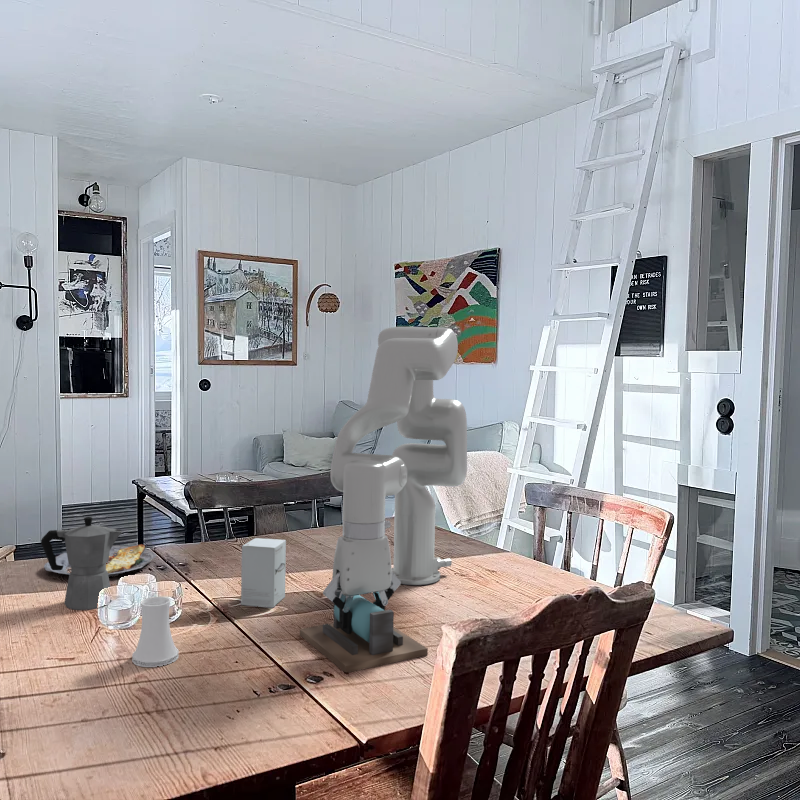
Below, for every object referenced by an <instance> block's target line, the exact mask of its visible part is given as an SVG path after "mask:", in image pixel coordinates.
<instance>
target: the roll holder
mask: <svg viewBox="0 0 800 800" xmlns="http://www.w3.org/2000/svg"><path fill="white" fill-rule="evenodd" d="M340 593H341V590H336V591H335V595H336V596H337V597H338V598H339V596H340ZM334 607H335V604H334V603H333V608H334ZM332 619H333V622H332V623H323V624H320V625H316V626H311V627H309V626H308V627H304V628H300V629H299V637H301V638H302V639H304V641H306V642H307V643H309V644H310V645H311V646H312V647H314V649H316V650H317V651H319V653H321V654H322V655H323V656H324V657H325V658H326V659H328V660H329V661H330V662H331V663H333V664H334V665H335V666H336V667H337V668H338V669H340V668H341V669H342V670H341V669H340V670H341V671H343V672H344V673H345V672H348V673H351V671H353V672H356V670H357V671H360V670H361V669H362V670H366V669H371V668H374V667H379V666H384V665H389V664H393V663H397V662H398V663H399V662H402V661H406V660H412V659H416V658H420V657H425V656H428V650H429V649H428V647H427V646H424V644H421V643H420V642H418V641H416V640H415V639H414V638H412V637H411V636H409V635H407V634H406V633H404V632H403V631H401V630H399V629H397V628H396V627H394V610H392V609H385V610H384V611H379V612H373V613H370V639H369V642H367V641H366V640H364V639H363V638H362V637H360V636H359V635H357V634H356V633H354V632H353V631H352V633H351V634H347V633H345V632H344V631H343V630H341V628H340V626H339V621H338V620H337V619H336V617H335V614H334V613H333V618H332ZM362 670H361V671H362Z"/></svg>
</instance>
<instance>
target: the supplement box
mask: <svg viewBox="0 0 800 800" xmlns="http://www.w3.org/2000/svg"><path fill="white" fill-rule="evenodd" d="M286 544H287V540H286V539H280V538H279V539H276V538H259V537H255V538H253V539H251V540H250V541H248V542H246V543H245V544H243V545H241V571H240V572H241V573H240V574H241V577H240V578H241V583H240V584H241V586H240V587H241V588H240V601H241V602H240V605H241V606H246V607H247V606H248V607H257V606H258V607H260V608H267V609H268V608H270V609H271V608H272V609H273V608H275V607H276V606H277V605H278V603H280V602H281V601H282V600H284V599H285V598H286V567H287V566H286V565H287V564H286V563H287V562H286V559H287V557H286V556H287V555H286V553H287V550H286V548H287V545H286Z"/></svg>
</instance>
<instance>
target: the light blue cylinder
mask: <svg viewBox="0 0 800 800" xmlns="http://www.w3.org/2000/svg"><path fill="white" fill-rule="evenodd" d="M350 611H351V612H352V619H351V625H352V631H353V632H354V633H356V634H357V635H359V636H360V637H362V638H363V639H364V640H366V641H367V642H369V639H370V613H373V612H379V611H384V610H383V609H381V608H380V607H378V606H377V605H375V604H373V601H370V600H368V599H367V598H365V597H364V596H361V595H356V596H354V597H353V600H352V603H351V606H350ZM334 614H335V617H336V619H337V620H338V621H339V608H338V607H337V606H336V605H335V607H334V606H333V615H334Z"/></svg>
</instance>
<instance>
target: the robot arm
mask: <svg viewBox="0 0 800 800" xmlns="http://www.w3.org/2000/svg"><path fill="white" fill-rule="evenodd" d="M377 337H378V338H377V345H378V347H377V349H376V354H375V359H374V364H373V368H372V373H371V380H370V384H369V389H368V395H367V400H366V403H365V404H364V405H362V407H361V408H359V409H358V410H357V411H355V413H353V414H352V415H351V416H350V417H349V419H348V420H347V421H346V423H345V424H344V425H343V426H342V427H341V428H340V431H339V432H338V435H337V437H336V440H335V444H334V450H333V455H332V458H331V462H330V463H331V464H330V473H329V474H330V482H331V484H332V486H333V487H334V488H335V489H336V491H339V492H341V493H342V500H343V501H342V536H339V537H338V538H337V541H336V547H335V550H334V556H333V557H334V558H333V566H332V577H331V578H332V579H331V580H330V581H329V583H328V584H327V586H326V587H325V588H324V589H323V591H322V594H323V596H324V597H326V599H328V600H329V601H331V603H332V604H333V605H334V604H335V605H336V606H337V607H338V608H339V626H340V628H341V630H343V631H344V632H345V633H347V634H351V633H352V625H351V619H352V612H351V611H350V606H351V603H352V600H353V597H354V596H356V595H360V596H361V595H367V594H373V597H374V600H375V601H372V603H373V604H375V605H377V606H378V607H380V608H381V609H383V610H386V606H387V605H388V604H389V600H390V599H391V597H392V596H393V595H394V593H395V591H396V590H398V588H399V587H400V586H401V585H405V586H406V585H408V586H423V585H425V586H426V585H431V584H434V583H436V582H438V581H440V580H441V572H440V571H439V570H440V569H441V568H445V567H451V566H452V559H451V558H450V557H448V558H442V559H441V557H436V556H435V544H436V541H435V539H436V538H435V537H436V503H435V499H434V497H433V495H432V494H431V492H430V491H429V490H428V488H427V487H428V486H434V487H435V486H437V487H451V488H452V487H459V486H461V485H463V483H464V482H465V481H466V477H467V471H468V428H467V427H468V422H467V413H466V409H465V406H464V405H463V403H462V402H461V401H460V400H457V399H454V398H453V399H451V398H436V397H435V396H434V381H439V380H442V379H443V378H445V376H446V375H447V373H448V372H449V371H450V369H451V368H452V367H453V364H454V363H455V361H456V359H457V355H458V350H459V349H458V348H459V347H458V346H459V343H458V338H457V335H456V332H454V330H452V329H451V328H449V327H438V326H437V327H433V326H432V327H429V326H392V327H387V328H384V329H382V330H380V332H379V334H378V336H377ZM394 423H396V425H397V431H398V433H399V434H400V435H401V437H403V438H406V439H412V440H421V441H422V440H424V441H440V442H441V441H442V442H443V443H444V444H432V443H418V442H417V443H415V442H414V443H410V442H409V443H403V444H400V445H398V446H397V447H396V448H395V449H394V450H393V452H392V454H391V455H390V454H377V453H362V452H361V453H359V452H354V450H355V447H356V446H357V444H358V443H359V442H360V441H361V440H362V439H363V438H364V437H365V436H367V435H368V434H370V433H373V432H374V431H377V430H380V429H381V428H384V427H387V426H389V425H391V424H394ZM426 486H427V487H426ZM390 496H394V517H393V519H394V520H393V521H394V524H393V526H394V528H393V530H394V531H393V567H392V556H391V548H390V544H389V543H390V542H389V538H388V536H387V535H386V529H389V528H391V526H392V524H391V521H390V520H387V519H386V497H390ZM336 590H341V593H340V596H339V598H338V597H337V596H336V595H335V591H336Z"/></svg>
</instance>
